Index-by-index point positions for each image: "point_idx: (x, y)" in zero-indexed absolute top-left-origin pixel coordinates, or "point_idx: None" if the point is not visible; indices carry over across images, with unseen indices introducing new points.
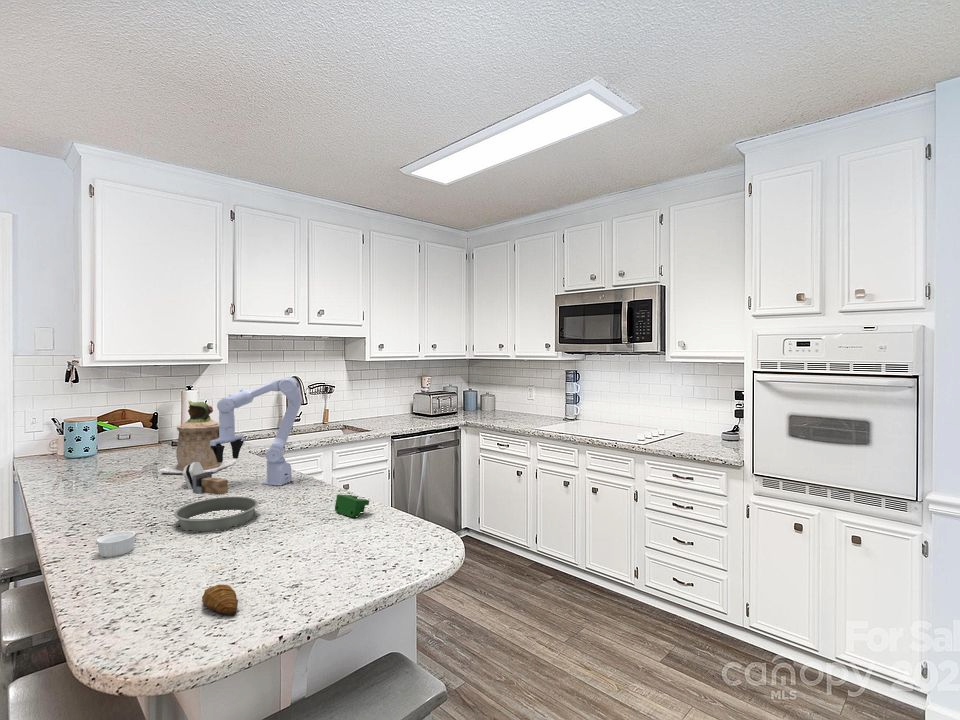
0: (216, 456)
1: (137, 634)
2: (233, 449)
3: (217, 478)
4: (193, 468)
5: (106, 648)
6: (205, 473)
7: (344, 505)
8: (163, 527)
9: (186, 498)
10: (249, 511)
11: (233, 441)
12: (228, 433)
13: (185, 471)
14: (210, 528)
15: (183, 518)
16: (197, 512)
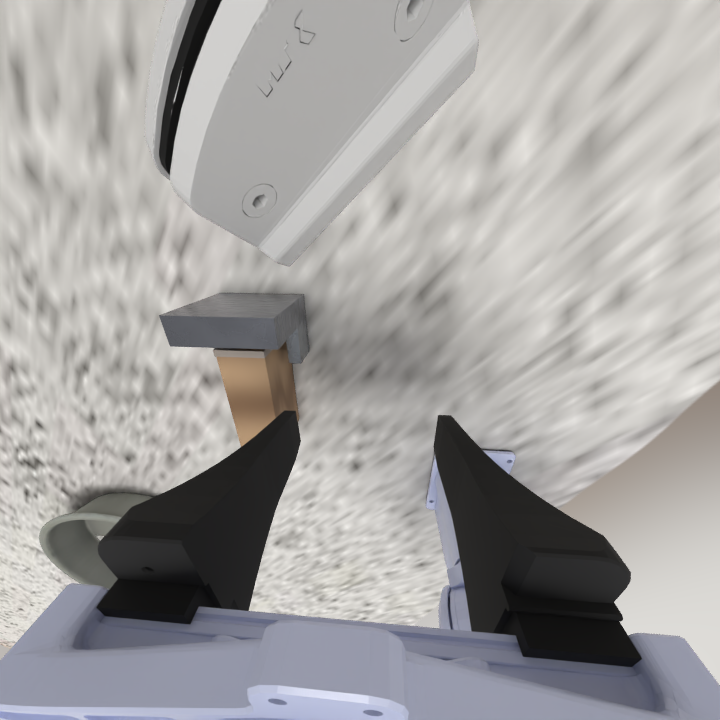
0: (257, 442)
1: (7, 629)
2: (463, 485)
3: (271, 407)
4: (213, 164)
5: None
6: (238, 340)
7: None
8: (51, 492)
9: (165, 348)
10: None
11: (508, 608)
12: None
13: (152, 150)
14: None
15: (53, 562)
16: (129, 499)
